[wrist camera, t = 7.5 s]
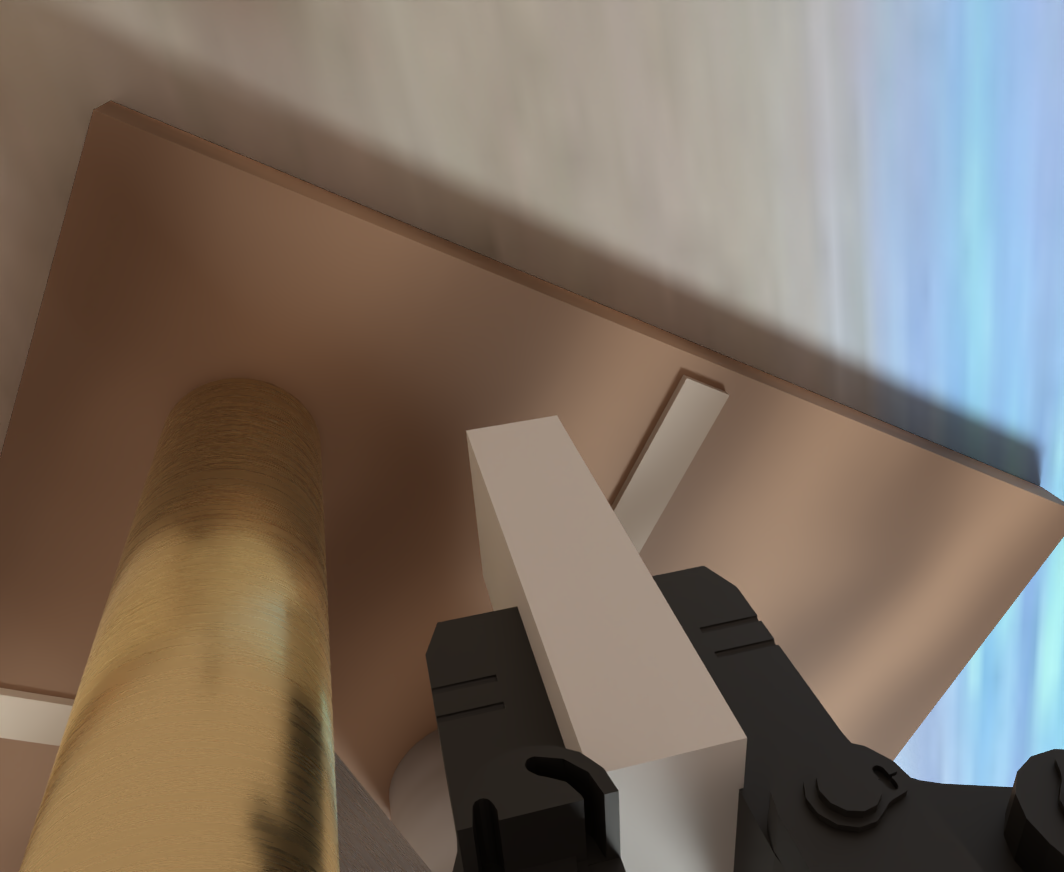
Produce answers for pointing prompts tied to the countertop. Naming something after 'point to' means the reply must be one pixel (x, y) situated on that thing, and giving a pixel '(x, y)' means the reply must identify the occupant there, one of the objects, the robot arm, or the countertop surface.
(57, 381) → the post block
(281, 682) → the crank handle
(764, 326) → the countertop surface
